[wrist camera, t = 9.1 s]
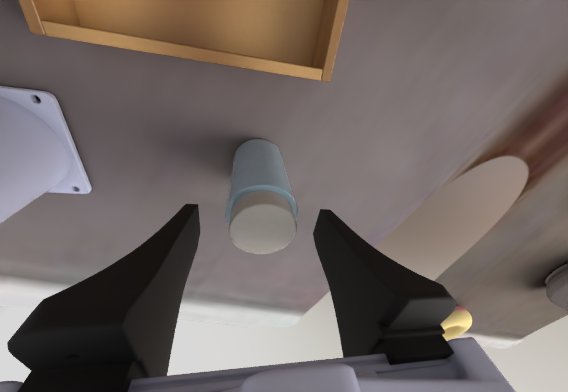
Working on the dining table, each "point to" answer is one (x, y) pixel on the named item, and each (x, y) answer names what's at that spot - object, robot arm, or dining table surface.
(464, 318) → the donut
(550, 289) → the coffee pot
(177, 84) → the dining table surface
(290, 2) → the wooden tray
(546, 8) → the dining table surface
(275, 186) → the shaker
